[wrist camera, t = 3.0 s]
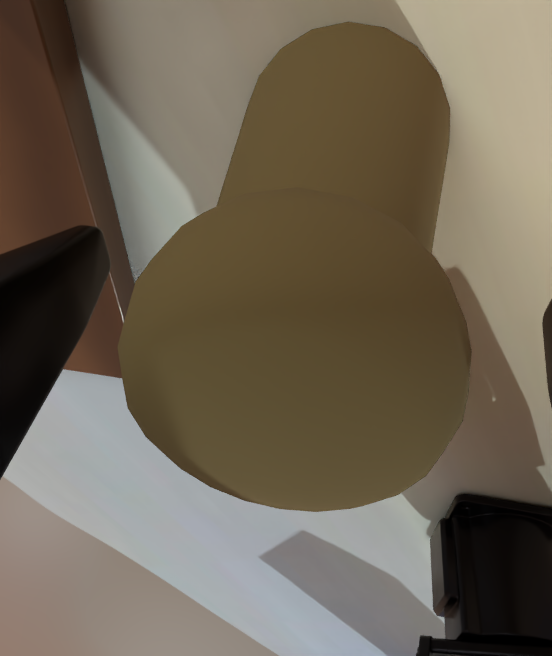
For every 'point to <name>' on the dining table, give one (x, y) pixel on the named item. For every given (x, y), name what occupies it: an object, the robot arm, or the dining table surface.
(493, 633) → the robot arm
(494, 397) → the dining table surface
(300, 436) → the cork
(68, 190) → the serving board
